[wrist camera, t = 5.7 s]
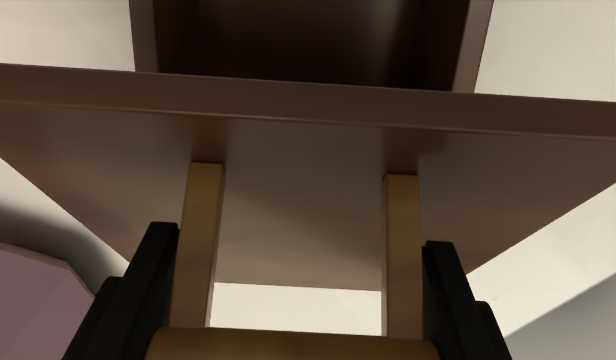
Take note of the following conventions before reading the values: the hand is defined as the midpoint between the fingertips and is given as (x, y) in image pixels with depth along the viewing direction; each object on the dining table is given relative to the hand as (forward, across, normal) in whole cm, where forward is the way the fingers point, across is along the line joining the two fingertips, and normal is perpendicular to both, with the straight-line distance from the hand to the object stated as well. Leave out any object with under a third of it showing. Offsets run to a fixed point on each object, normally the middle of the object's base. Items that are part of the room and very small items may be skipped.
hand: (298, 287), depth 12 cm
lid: (+4, 0, +1) cm, 5 cm away
